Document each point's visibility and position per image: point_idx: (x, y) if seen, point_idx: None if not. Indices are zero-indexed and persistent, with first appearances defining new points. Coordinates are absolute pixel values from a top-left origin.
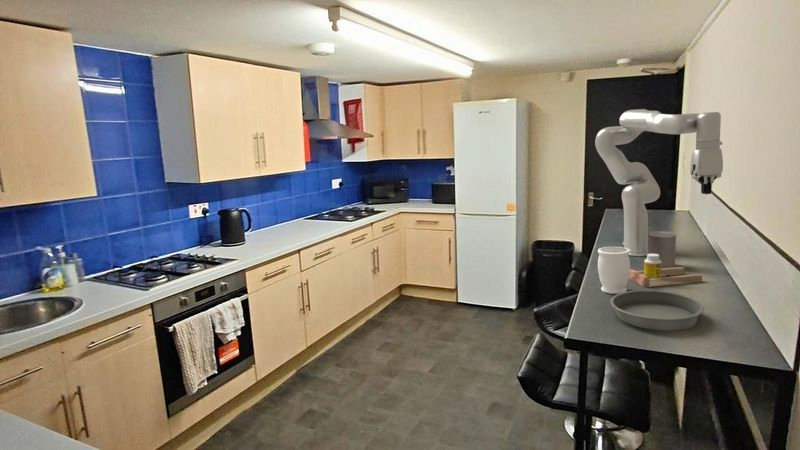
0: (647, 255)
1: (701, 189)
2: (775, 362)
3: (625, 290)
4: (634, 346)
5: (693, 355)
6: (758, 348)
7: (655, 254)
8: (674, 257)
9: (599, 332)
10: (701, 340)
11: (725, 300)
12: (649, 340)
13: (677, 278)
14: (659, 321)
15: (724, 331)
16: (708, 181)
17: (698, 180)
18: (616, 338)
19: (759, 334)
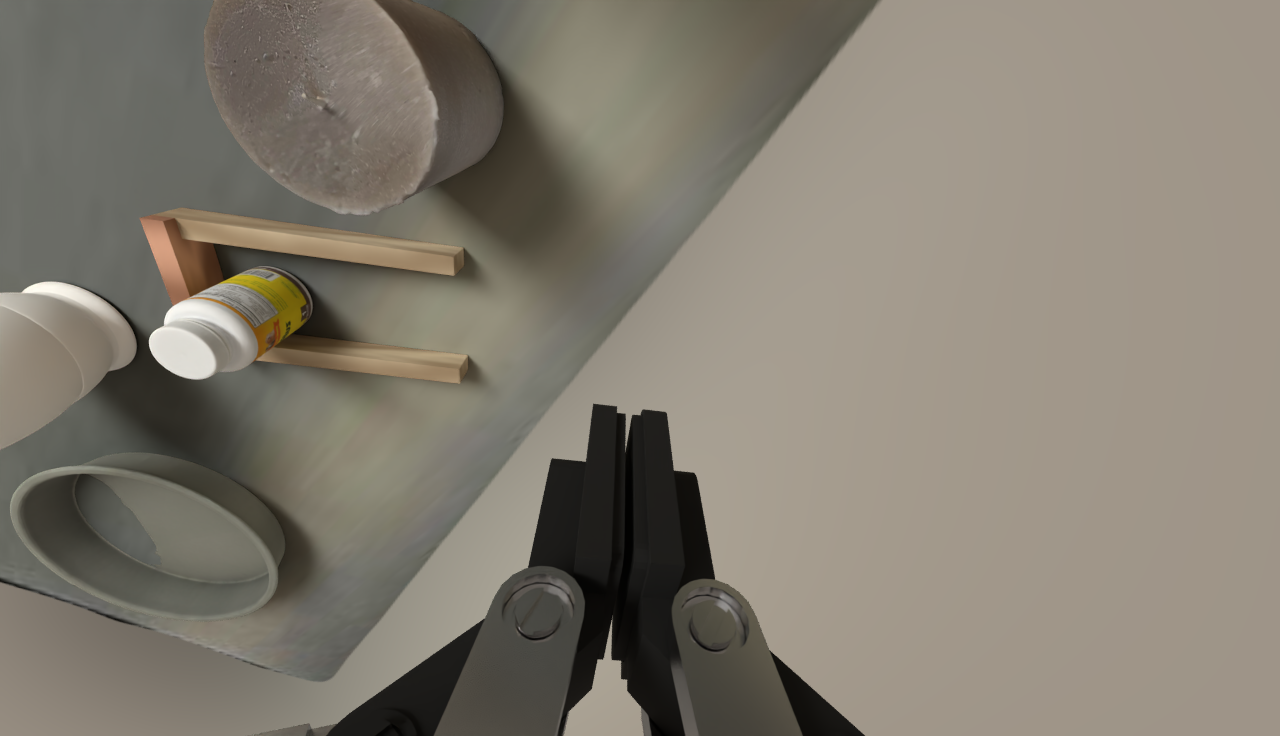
0: (150, 347)
1: (546, 487)
2: (325, 676)
3: (123, 365)
4: (94, 606)
5: (203, 644)
6: (329, 650)
7: (198, 354)
8: (461, 170)
9: (14, 551)
10: (243, 617)
11: (424, 504)
12: None
13: (354, 368)
14: (148, 598)
15: (309, 605)
16: (645, 691)
17: (391, 694)
18: (57, 578)
19: (368, 624)
